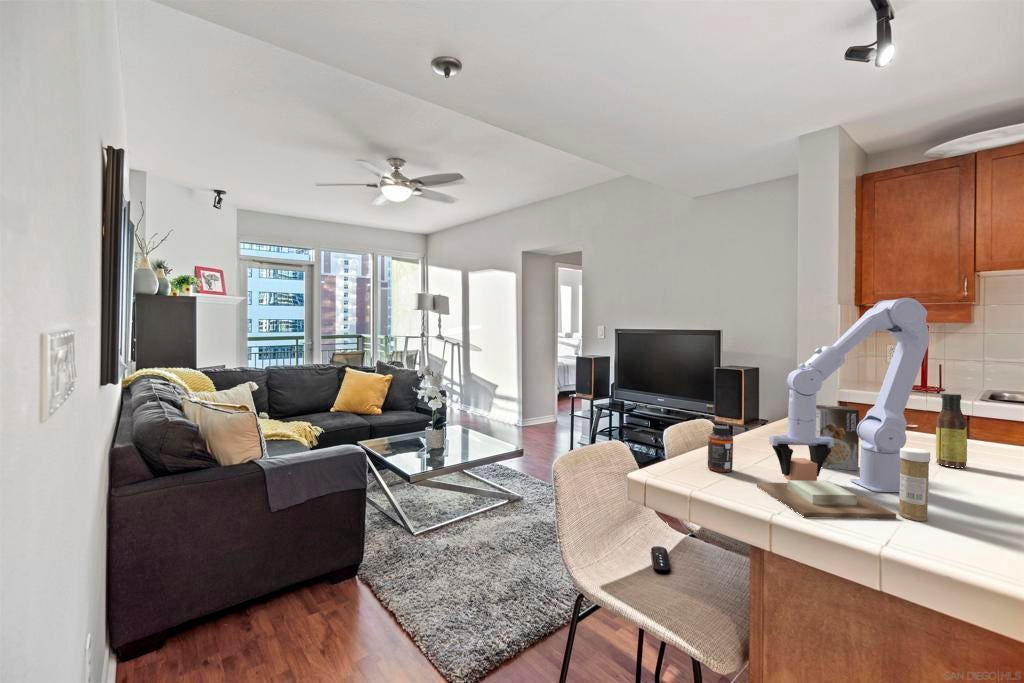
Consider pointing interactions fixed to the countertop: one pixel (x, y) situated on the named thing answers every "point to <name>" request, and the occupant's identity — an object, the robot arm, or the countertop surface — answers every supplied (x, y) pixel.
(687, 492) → the countertop surface
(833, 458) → the coffee box
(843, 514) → the walnut base board
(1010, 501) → the countertop surface
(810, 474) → the terracotta cube
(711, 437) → the supplement bottle
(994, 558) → the countertop surface
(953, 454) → the sauce bottle
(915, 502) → the sprinkles bottle
